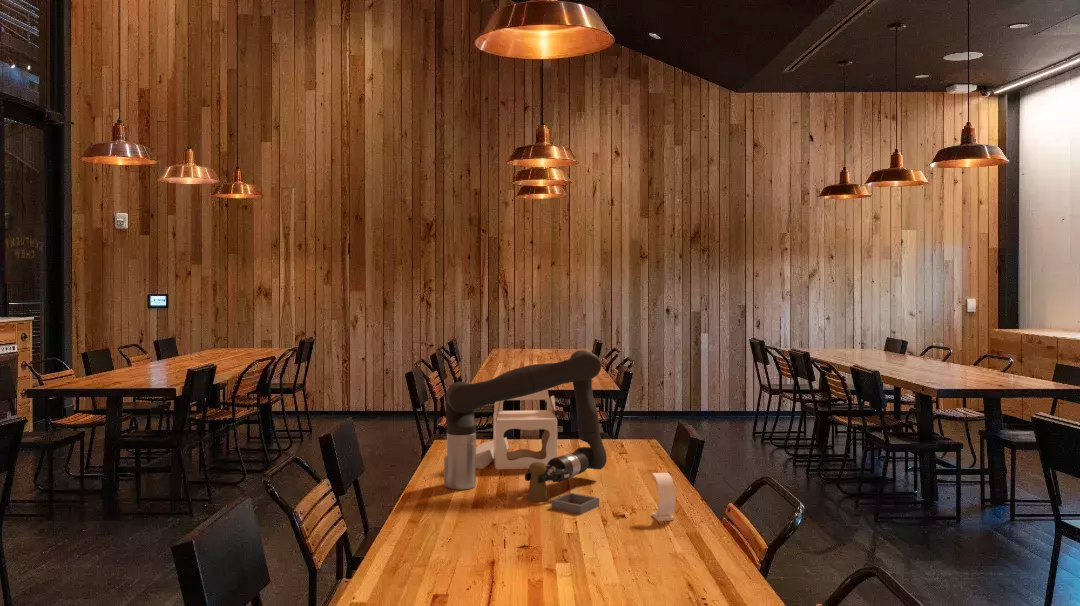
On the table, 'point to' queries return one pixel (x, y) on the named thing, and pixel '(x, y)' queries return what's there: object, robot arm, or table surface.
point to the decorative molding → (486, 454)
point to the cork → (537, 489)
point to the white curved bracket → (665, 497)
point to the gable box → (525, 422)
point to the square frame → (585, 506)
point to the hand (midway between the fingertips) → (532, 478)
